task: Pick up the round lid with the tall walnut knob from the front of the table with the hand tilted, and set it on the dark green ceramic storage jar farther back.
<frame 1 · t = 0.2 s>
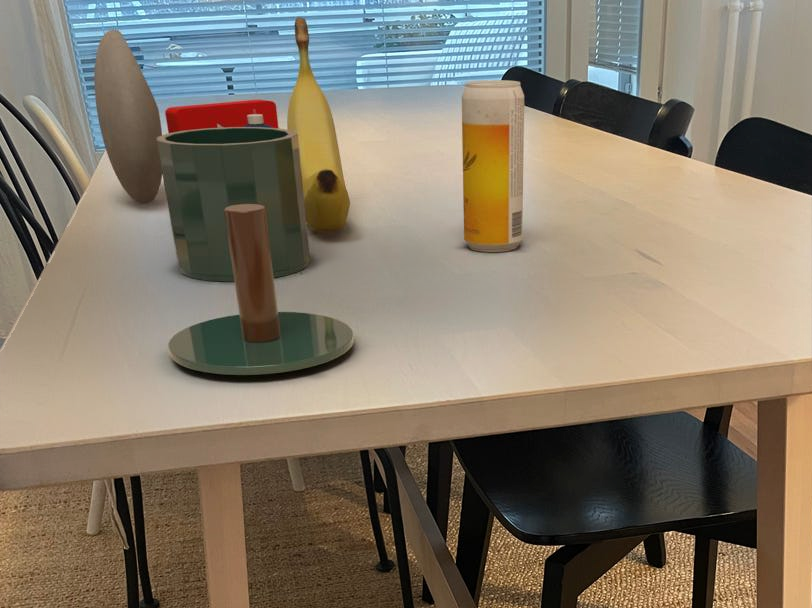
grey-brown flattened oval: (144, 204, 125), on the table
storage jar: (245, 265, 97), on the table
beer can: (493, 248, 103), on the table
christmas ornament: (264, 196, 129), on the table
jar lid: (262, 345, 74), point 1 cm above the table
play button: (233, 188, 134), on the table
banana: (324, 227, 113), on the table
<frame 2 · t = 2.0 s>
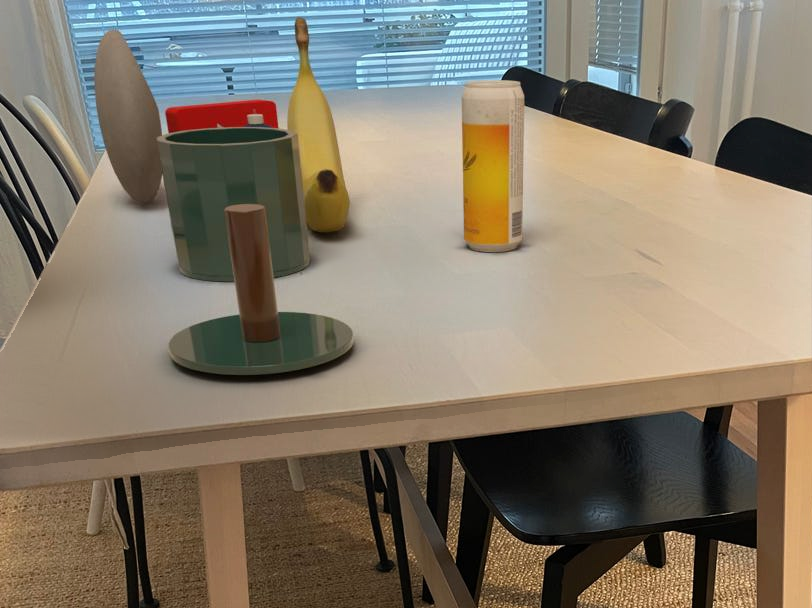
nothing on the table moved.
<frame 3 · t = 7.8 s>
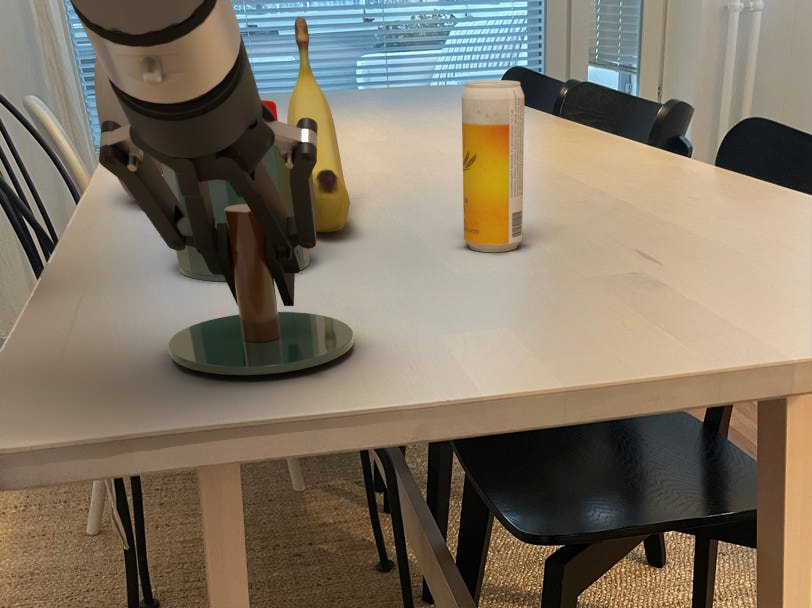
hand: (266, 289, 75), 4 cm above the table, tool tilted 45°, fingers closed on jar lid, 3 cm apart
jar lid: (262, 345, 74), point 1 cm above the table, touching gripper
everything else where it was.
when the fingers open (14 cm above the table, at t = 18.4 s): jar lid stays where it is, resting on storage jar.
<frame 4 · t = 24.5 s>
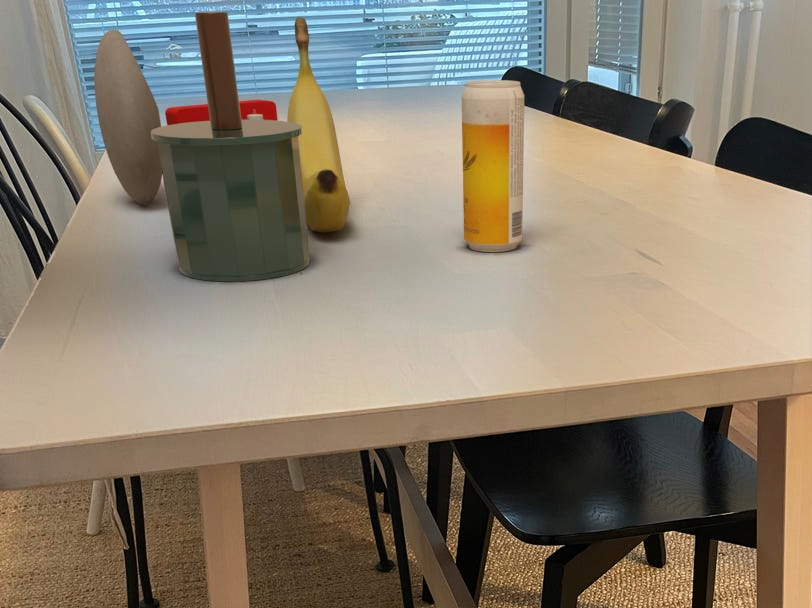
jar lid: (227, 135, 91), point 11 cm above the table, touching storage jar
everything else where it was.
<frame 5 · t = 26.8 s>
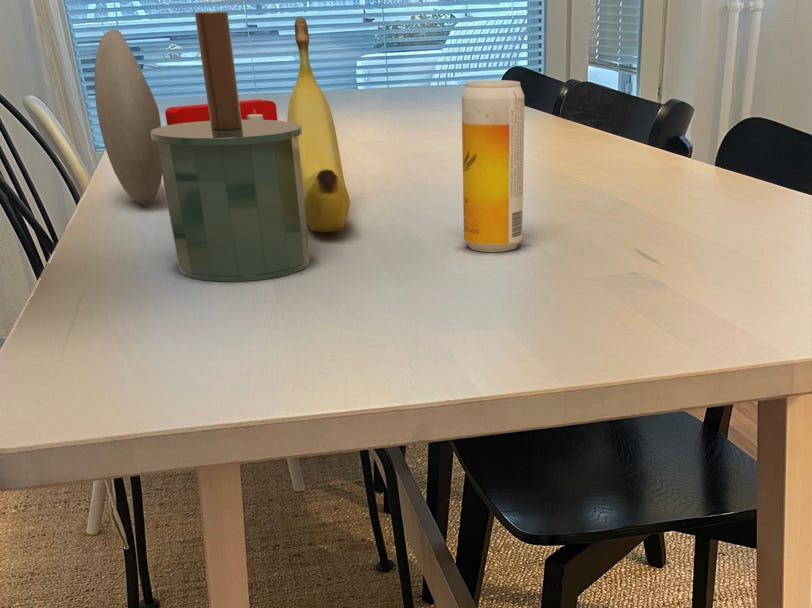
nothing on the table moved.
at the end: jar lid 0.1 cm off-centre on the storage jar, point 11.5 cm above the storage jar's base; jar lid tilted 0°; the gripper is holding nothing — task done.
